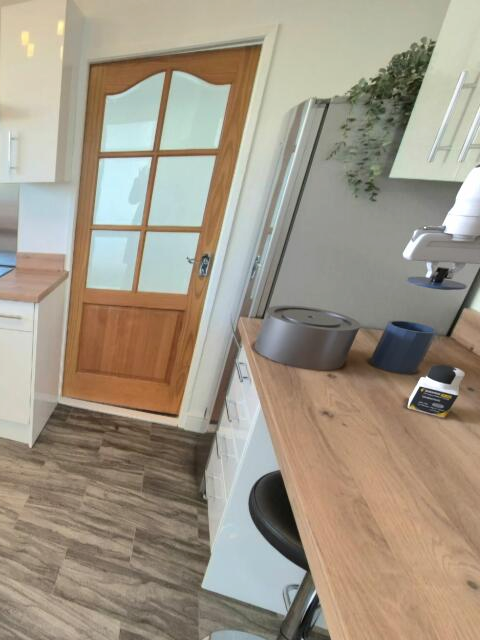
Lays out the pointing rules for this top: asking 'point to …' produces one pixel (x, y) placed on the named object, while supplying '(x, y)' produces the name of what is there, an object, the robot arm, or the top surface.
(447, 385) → the medicine bottle
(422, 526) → the top surface
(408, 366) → the tin
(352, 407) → the top surface
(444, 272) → the tin lid
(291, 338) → the container
